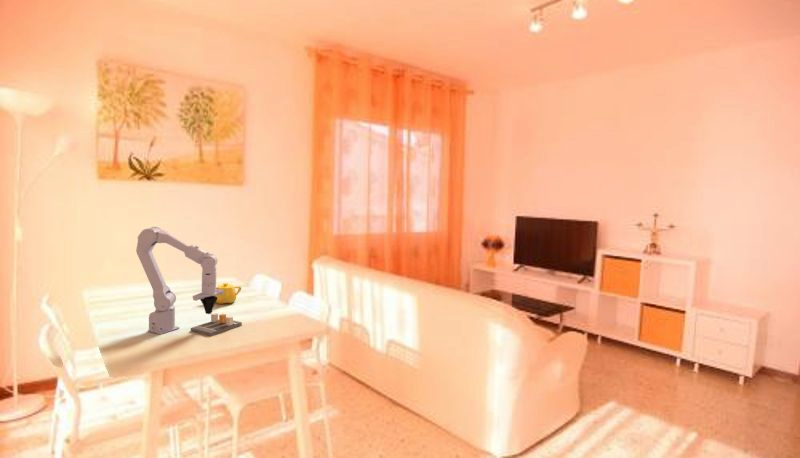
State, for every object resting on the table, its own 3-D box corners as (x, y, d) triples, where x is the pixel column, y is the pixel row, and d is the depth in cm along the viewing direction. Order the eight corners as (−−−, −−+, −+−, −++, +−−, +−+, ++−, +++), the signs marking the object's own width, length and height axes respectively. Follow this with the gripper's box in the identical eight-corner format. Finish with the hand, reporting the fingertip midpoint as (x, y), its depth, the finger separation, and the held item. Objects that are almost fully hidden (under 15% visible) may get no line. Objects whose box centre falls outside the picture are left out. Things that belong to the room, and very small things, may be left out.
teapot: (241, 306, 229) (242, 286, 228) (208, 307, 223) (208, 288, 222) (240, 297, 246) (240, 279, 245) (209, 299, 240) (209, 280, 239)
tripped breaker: (222, 323, 194) (222, 315, 194) (219, 322, 195) (219, 314, 195) (226, 322, 196) (226, 314, 196) (222, 321, 197) (222, 313, 197)
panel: (211, 336, 183) (211, 324, 182) (190, 331, 188) (190, 319, 187) (241, 325, 198) (241, 314, 198) (222, 321, 203) (222, 310, 203)
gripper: (201, 287, 182) (201, 319, 183) (228, 281, 195) (228, 311, 197) (189, 284, 185) (189, 316, 187) (217, 279, 198) (216, 308, 200)
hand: (208, 313), depth 192 cm, fingers closed
